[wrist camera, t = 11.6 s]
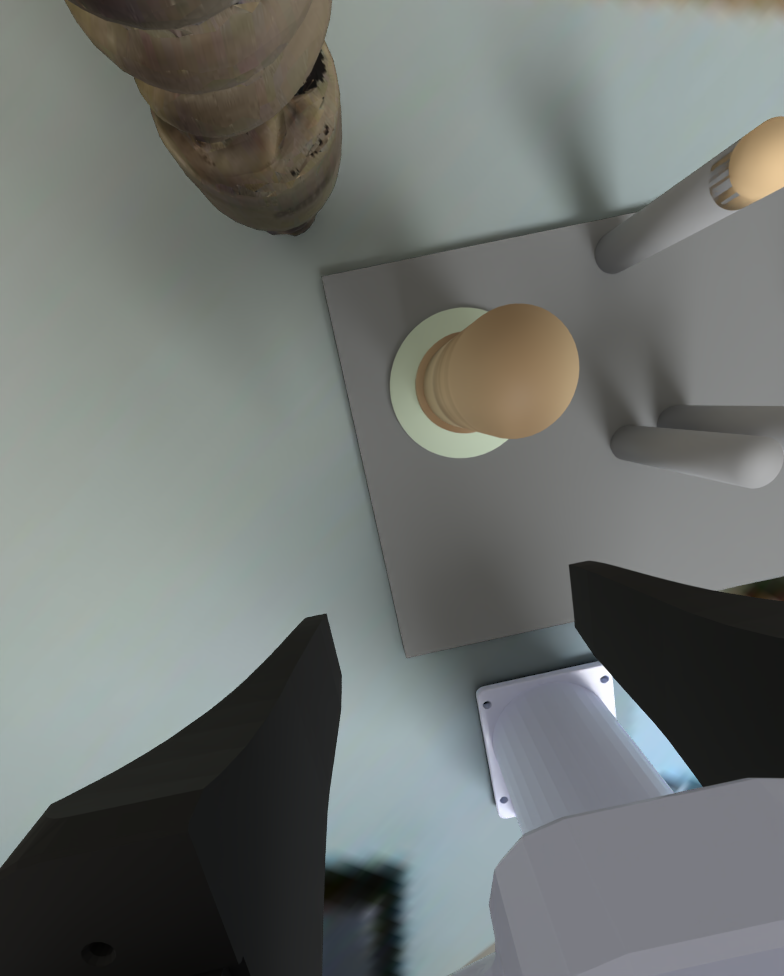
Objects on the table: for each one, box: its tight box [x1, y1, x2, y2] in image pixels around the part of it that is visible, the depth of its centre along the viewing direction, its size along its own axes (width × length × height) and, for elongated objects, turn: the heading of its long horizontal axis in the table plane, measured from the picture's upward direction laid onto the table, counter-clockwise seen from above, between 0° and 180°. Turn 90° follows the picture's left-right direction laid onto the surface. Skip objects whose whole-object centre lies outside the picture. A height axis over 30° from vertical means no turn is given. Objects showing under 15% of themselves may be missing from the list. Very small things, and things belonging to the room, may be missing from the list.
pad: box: [390, 307, 508, 458], centre depth 19 cm, size 7×7×1 cm
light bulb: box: [65, 0, 342, 236], centre depth 10 cm, size 6×6×15 cm
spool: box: [415, 304, 579, 439], centre depth 16 cm, size 5×5×7 cm
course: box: [322, 117, 784, 658], centre depth 17 cm, size 20×27×8 cm
